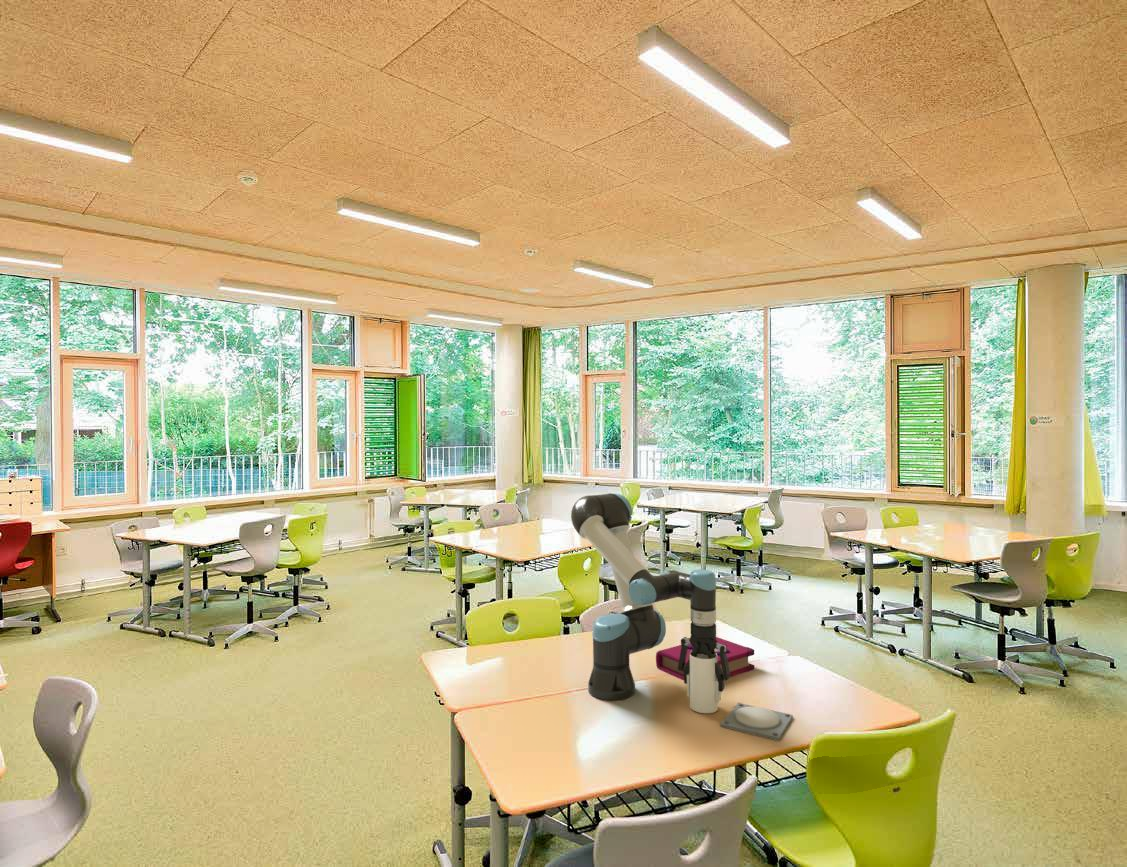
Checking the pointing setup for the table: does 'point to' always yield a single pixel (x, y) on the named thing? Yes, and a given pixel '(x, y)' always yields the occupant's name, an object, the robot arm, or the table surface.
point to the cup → (703, 683)
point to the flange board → (757, 721)
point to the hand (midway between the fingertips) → (703, 697)
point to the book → (735, 653)
